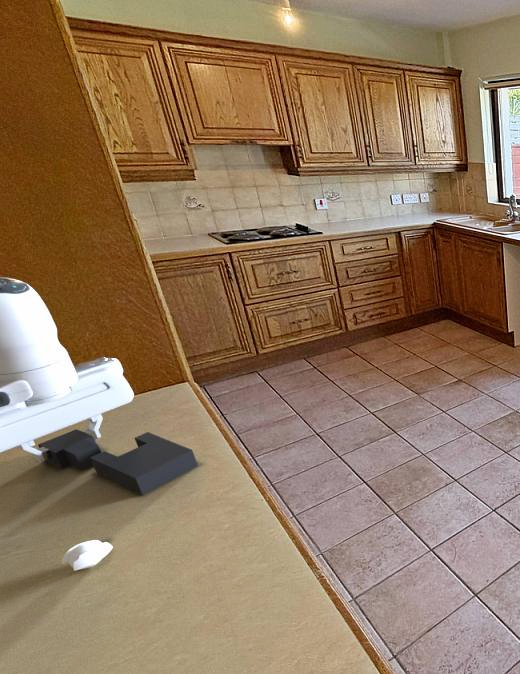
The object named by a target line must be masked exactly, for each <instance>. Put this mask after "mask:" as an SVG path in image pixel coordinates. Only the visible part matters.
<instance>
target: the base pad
mask: <svg viewBox="0 0 520 674" xmlns="http://www.w3.org/2000/svg"><path fill="white" fill-rule="evenodd" d="M134 441H135V443H136V446H137V447H135V448H134V449H131V450H129V451H127V452H124V453H123V454H121V455H119V456H117V455H115V454H112V453H111V452H108V451H106V450H104V451H101V453H99V454H97V455H95V456H93V457H90V460H91V462H92V464H93V466H92V467H93V468H94V470H95V473H96V475H98V476H100V477H102V478H104V479H106V480H108V481H111V482H113V483H115V484H117V485H119V486H121V487H123V488H125V489H127V490H130V491H132V492H134V493H137V495H140V496H144V495H146V494H148V493H150V492H152V491H154V490H155V489H158V488H159V487H162V486H163V485H165V484H167V483H168V482H171V481H172V480H174V479H176V478H177V477H180V476H181V475H184V474H185V473H187V472H189V471H191V470H193V469H194V468H196V467H198V466H199V464H198V462H197V459H196V457H195V453H194V450H193V449H192V448H188V447H187V446H184V445H181V444H179V443H177V442H174V441H171V440H169V439H166V438H164V437H162V436H159V435H156V434H155V433H151V432H149V431H146V432H145V433H142V434H140V435H138V436H135V437H134Z"/></svg>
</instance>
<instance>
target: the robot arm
mask: <svg viewBox="0 0 520 674" xmlns="http://www.w3.org/2000/svg"><path fill="white" fill-rule="evenodd" d="M123 373H124V368H123V366H122V364H121V361H120V360H118V359H117V358H115V357H107V356H102V357H98V358H95V359H94V360H90V361H86V362H81V363H78V364H75V365H74V363H73V362H72V360H71V356H70V355H69V352H68V351H67V349H66V348H65V347H64V346H63V345H62V344H61V343H60V341H59V338H58V328H57V326H56V323H55V321H54V318H53V317H52V314H51V313H50V310H49V309H48V306H47V305H46V304H45V302H44V301H43V299H42V298H41V295H40V294H39V293H38V292H37V291H36V290H35V289H34V288H33V287H32V286H30V284H28V283H26V282H25V281H22V280H19V279H15V278H10V277H1V276H0V454H1V453H4V452H6V451H9V450H12V449H14V448H16V447H17V448H18V449H21V450H23V451H26V452H28V453H31V454H32V457H33V458H34V460H35V461H36V462H39V463H43V462H46V460H48V459H50V458H52V456H51V454H50V452H49V449H45V447H41V448H39V447H38V448H34V447H33V446H35V445H36V443H35V441H34V440H37V439H39V438H42V437H44V436H47V435H50V434H52V433H55V432H57V431H60V430H62V429H66V428H67V427H70V426H73V425H75V424H78V423H80V422H83V421H85V420H87V421H88V425H87V428H85V429H84V430H81V431H82V432H84V433H86V434H89V435H91V436H93V437H94V439H95V440H97V439H100V438H102V435H101V433H100V430H99V429H100V427H101V425H102V422H103V418H104V417H103V416H102V415H103V414H104V413H107V412H109V411H112V410H114V409H117V408H119V407H122V406H124V405H127V404H129V403H132V401H133V399H134V397H135V393H134V390H133V388H132V387H131V386H130V383H129V382H128V380H127V379H126V378H125V376H124V375H123Z"/></svg>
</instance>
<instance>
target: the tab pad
mask: <svg viewBox="0 0 520 674" xmlns="http://www.w3.org/2000/svg"><path fill="white" fill-rule="evenodd" d="M82 431H83V430H80V429H77V428H76V429H73V430H71V431H68V432H66V433H63V434H61V435H58V436H56V437H53V438H51V439H48V440H46V441H43V442H40V443H38V444H37V447H38V449H39V448H41V447H45V449H49V452H50V454H51V456H52V458H50V459H48V460H45V462H48V463H50V464H52V465H54V466H56V467H57V468H60V469H65V468H68V467H70V466H71V467H73V468H75V469H76V470H80V471H82V472H83V471H85V470H88V469H90V468H92V467H94V466H93V464H92V462H91V460H90V457H93V456H95V455H97V454H99V453H102V451H101V448H100V446H99V444H98V443H97V442H96V439H94V437H93V436H91V435H89V434H86V433H84V432H82Z"/></svg>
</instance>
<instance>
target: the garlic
mask: <svg viewBox="0 0 520 674" xmlns="http://www.w3.org/2000/svg"><path fill="white" fill-rule="evenodd" d="M112 549H113V545H112V544H110V543H109V542H107V541H105V542H101V541H100V540H98V539H92V540H87V541H84V542H81V543H78V544H76V545H74V546H73V547H71V548H70V549H68V550H67V552H65V554H64V555H63V557H62V560H61V563H60V565H61V566H62V565H64V564H66V563H68V565H69V566H70V567H71V568H73V572H76V571H79V570H87V569H90V568H92V567H95V566H96V565H97V564H99V563H100V562H101V560H102V559H103V558H105V557H106V556H107V555H108V554H109V553H110V552H111V551H112Z"/></svg>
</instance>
